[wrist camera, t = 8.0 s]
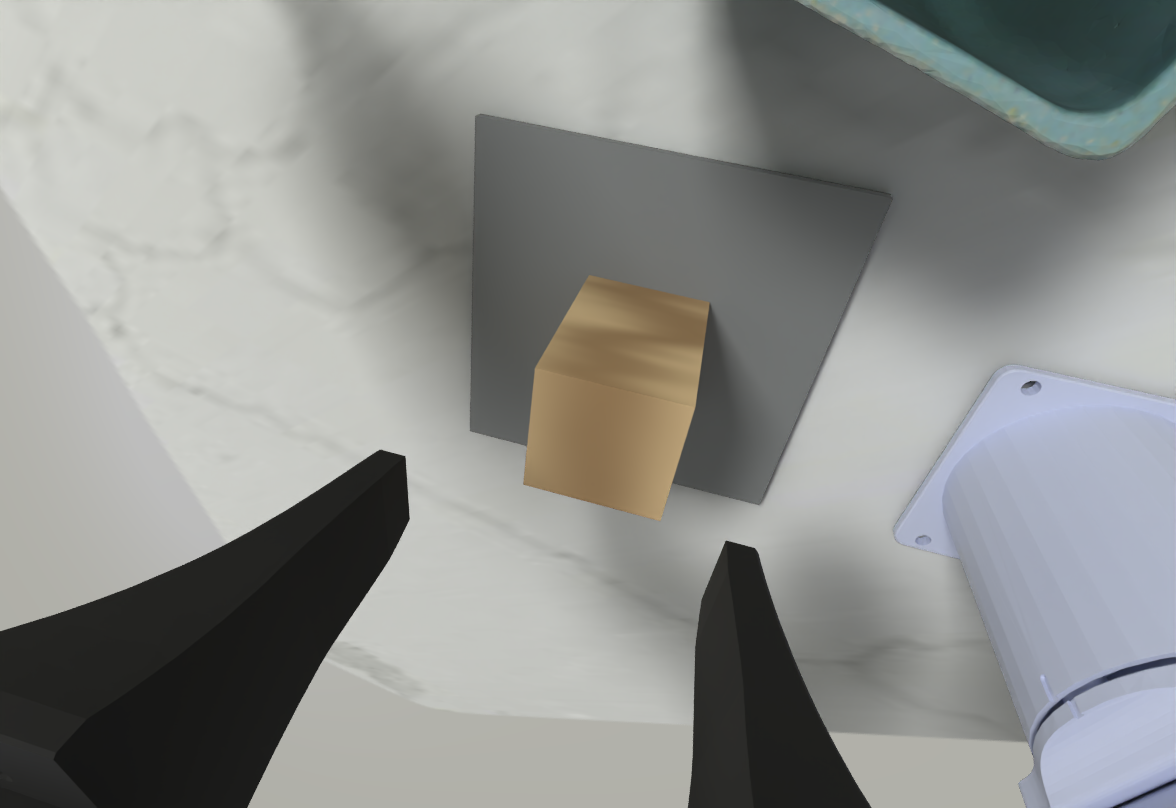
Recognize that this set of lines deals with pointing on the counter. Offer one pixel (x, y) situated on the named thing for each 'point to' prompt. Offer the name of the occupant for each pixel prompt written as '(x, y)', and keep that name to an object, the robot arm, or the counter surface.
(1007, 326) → the counter surface
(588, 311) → the oak block
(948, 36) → the flower pot
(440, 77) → the counter surface
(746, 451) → the mat
